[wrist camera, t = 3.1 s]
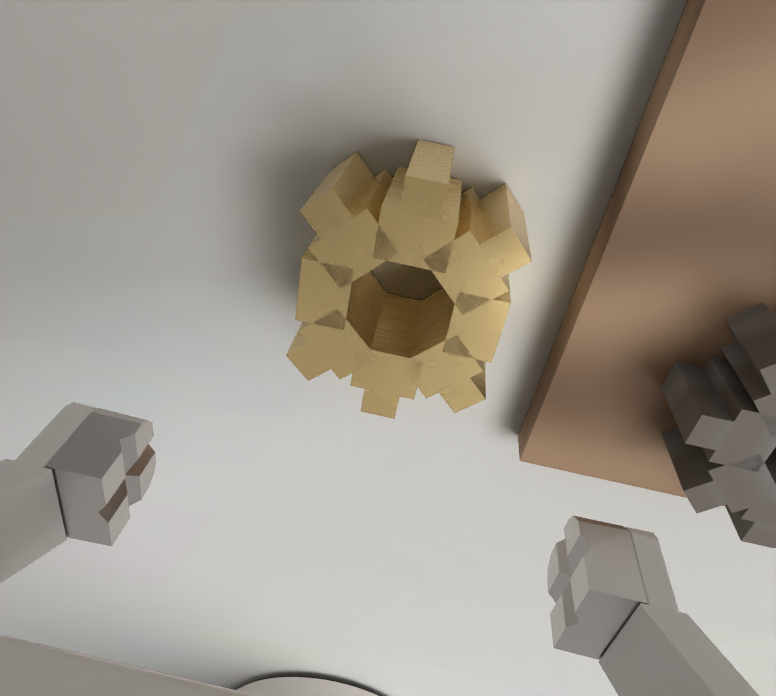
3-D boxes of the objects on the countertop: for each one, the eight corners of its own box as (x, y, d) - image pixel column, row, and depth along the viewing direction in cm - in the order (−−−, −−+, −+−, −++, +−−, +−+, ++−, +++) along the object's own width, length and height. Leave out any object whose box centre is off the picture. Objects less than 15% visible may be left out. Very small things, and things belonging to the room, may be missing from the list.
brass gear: (474, 370, 24) (473, 436, 21) (309, 334, 24) (282, 393, 21) (538, 164, 20) (550, 205, 16) (335, 121, 20) (305, 153, 16)
